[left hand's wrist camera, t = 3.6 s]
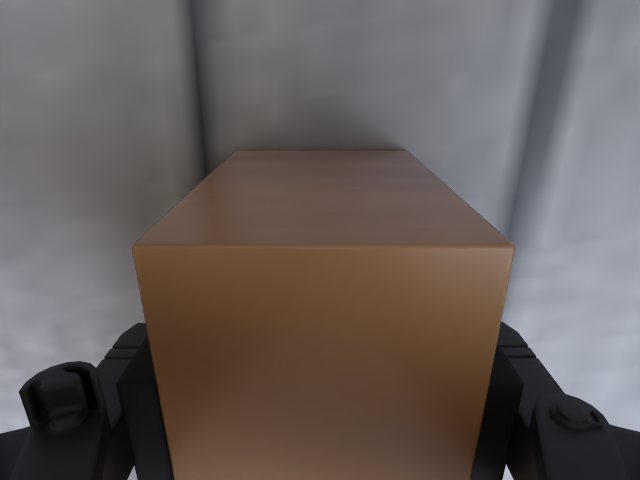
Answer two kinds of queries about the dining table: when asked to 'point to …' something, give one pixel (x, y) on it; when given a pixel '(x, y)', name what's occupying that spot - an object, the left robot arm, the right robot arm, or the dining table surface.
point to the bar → (322, 319)
